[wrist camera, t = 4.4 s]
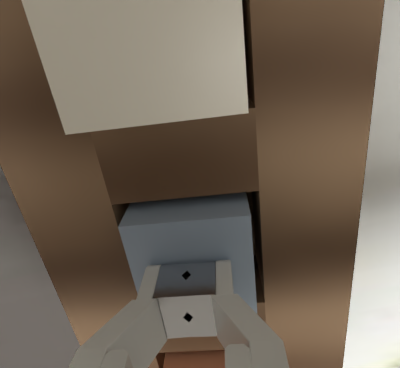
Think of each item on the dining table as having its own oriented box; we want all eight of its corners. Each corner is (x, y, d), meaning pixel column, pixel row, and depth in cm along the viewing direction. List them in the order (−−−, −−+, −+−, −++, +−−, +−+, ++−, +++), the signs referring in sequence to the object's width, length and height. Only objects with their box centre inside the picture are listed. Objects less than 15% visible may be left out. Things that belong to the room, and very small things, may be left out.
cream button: (70, -51, 9) (-13, -102, 5) (225, -79, 8) (232, -151, 5) (109, 105, 10) (65, 134, 7) (237, 89, 10) (248, 113, 7)
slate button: (140, 181, 13) (118, 227, 10) (241, 171, 13) (250, 215, 10) (159, 261, 15) (145, 319, 12) (247, 254, 15) (257, 313, 12)
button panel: (-28, -112, 10) (-159, -194, 7) (340, -187, 9) (422, -335, 6) (138, 372, 21) (122, 440, 18) (312, 365, 20) (334, 436, 17)
